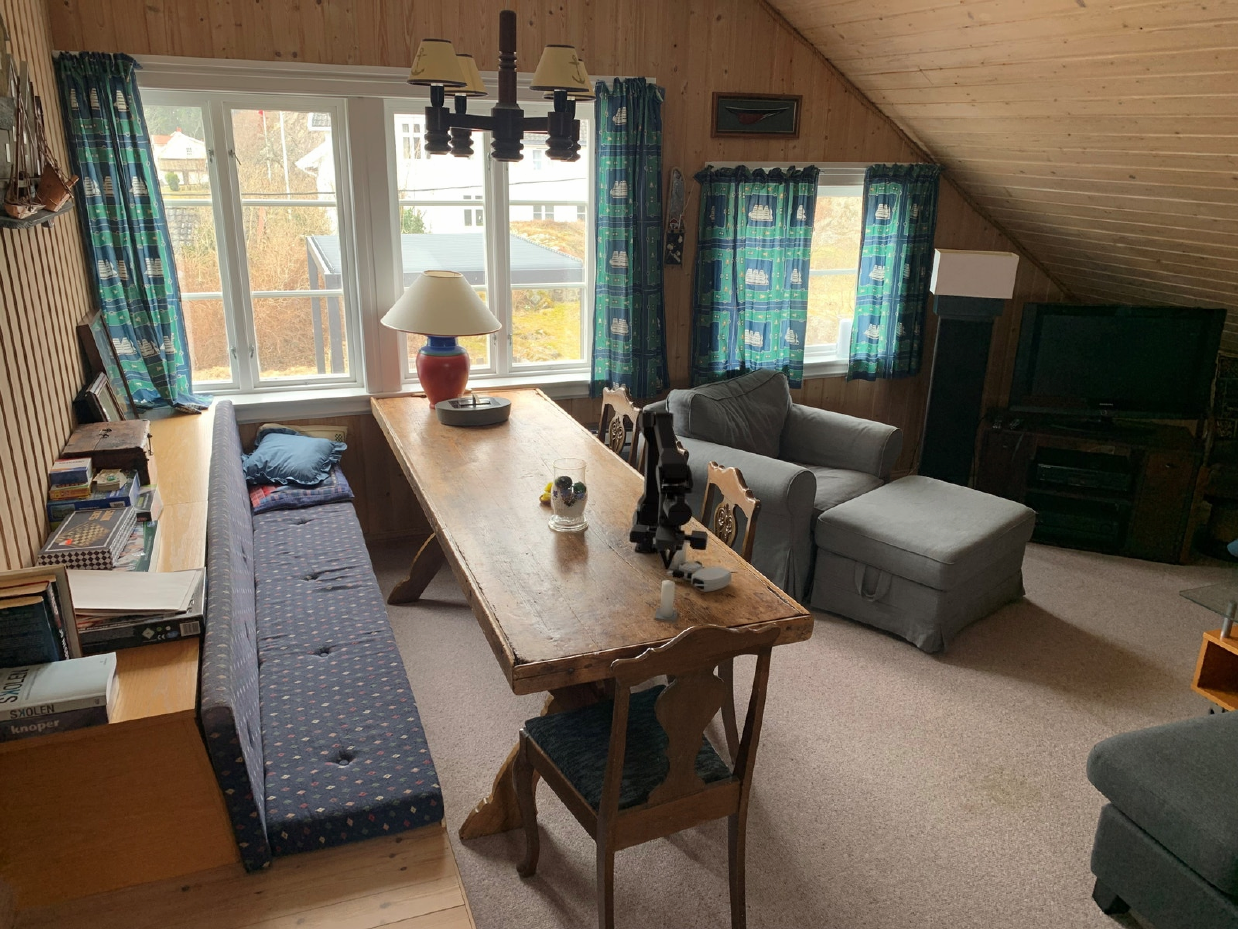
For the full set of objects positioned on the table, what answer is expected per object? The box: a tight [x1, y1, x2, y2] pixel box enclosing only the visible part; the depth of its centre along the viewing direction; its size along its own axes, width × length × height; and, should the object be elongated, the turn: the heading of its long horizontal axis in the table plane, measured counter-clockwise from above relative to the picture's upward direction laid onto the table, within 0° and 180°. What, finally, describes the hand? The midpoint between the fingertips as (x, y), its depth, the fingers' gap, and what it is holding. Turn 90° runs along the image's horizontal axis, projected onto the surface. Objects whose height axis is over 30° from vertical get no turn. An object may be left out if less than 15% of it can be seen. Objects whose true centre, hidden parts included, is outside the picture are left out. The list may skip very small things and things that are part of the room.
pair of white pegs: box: [653, 542, 689, 623], centre depth 221 cm, size 33×5×9 cm, turn 170°
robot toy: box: [666, 560, 739, 593], centre depth 226 cm, size 12×4×15 cm
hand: (666, 568), depth 220 cm, fingers closed
